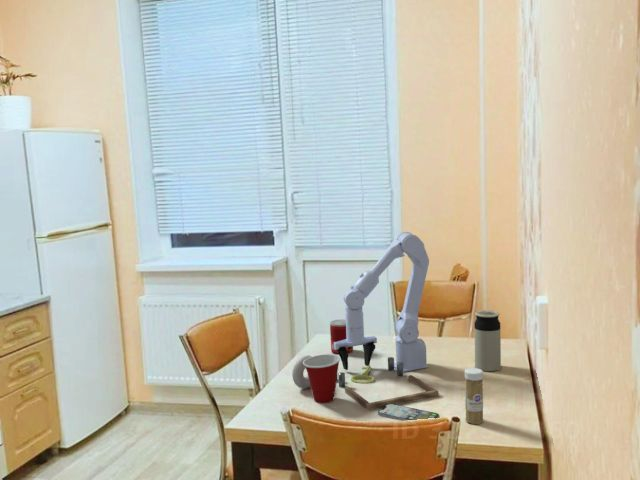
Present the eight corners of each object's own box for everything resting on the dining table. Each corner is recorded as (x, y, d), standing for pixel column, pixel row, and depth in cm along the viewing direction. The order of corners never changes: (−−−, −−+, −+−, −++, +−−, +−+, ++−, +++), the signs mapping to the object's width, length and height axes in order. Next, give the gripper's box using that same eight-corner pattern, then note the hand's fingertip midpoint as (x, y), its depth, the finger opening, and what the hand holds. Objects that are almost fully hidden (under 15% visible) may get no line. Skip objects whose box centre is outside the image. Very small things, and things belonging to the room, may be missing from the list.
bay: (411, 379, 188) (411, 375, 188) (438, 396, 174) (438, 391, 174) (345, 392, 180) (344, 387, 180) (367, 410, 166) (367, 405, 166)
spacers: (392, 368, 199) (392, 356, 199) (404, 376, 192) (404, 363, 191) (330, 379, 191) (329, 367, 191) (340, 387, 184) (339, 375, 183)
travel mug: (491, 373, 190) (491, 317, 188) (470, 368, 196) (469, 313, 194) (505, 367, 195) (505, 312, 193) (484, 362, 201) (483, 309, 199)
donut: (298, 393, 180) (296, 361, 179) (290, 391, 183) (288, 358, 182) (322, 384, 187) (320, 352, 186) (314, 382, 190) (313, 350, 189)
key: (370, 371, 199) (370, 365, 199) (375, 384, 187) (375, 377, 186) (348, 372, 199) (348, 366, 199) (351, 385, 187) (351, 379, 186)
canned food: (353, 354, 216) (352, 324, 215) (331, 355, 216) (329, 325, 215) (352, 348, 223) (351, 318, 222) (331, 349, 224) (329, 319, 222)
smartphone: (429, 424, 155) (376, 412, 162) (429, 428, 155) (376, 416, 162) (440, 413, 161) (388, 402, 169) (440, 417, 161) (388, 406, 169)
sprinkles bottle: (472, 426, 153) (472, 374, 152) (461, 419, 157) (460, 369, 156) (487, 422, 155) (486, 371, 153) (476, 416, 159) (475, 366, 158)
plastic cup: (305, 392, 181) (303, 353, 180) (341, 391, 181) (340, 352, 179) (303, 407, 170) (301, 365, 169) (342, 406, 170) (340, 364, 168)
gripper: (369, 321, 204) (371, 360, 205) (329, 326, 198) (331, 367, 200) (379, 325, 197) (380, 366, 199) (337, 331, 192) (339, 373, 194)
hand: (356, 367), depth 199 cm, fingers open, 7 cm apart
